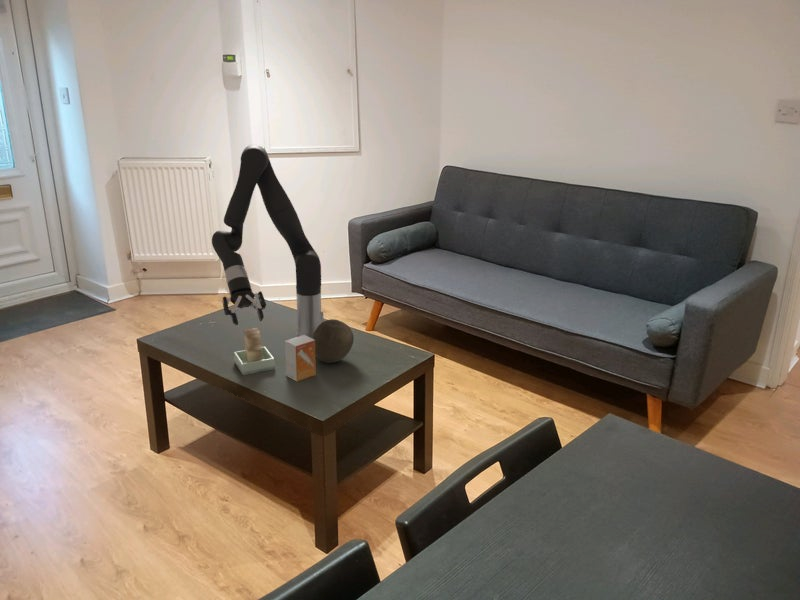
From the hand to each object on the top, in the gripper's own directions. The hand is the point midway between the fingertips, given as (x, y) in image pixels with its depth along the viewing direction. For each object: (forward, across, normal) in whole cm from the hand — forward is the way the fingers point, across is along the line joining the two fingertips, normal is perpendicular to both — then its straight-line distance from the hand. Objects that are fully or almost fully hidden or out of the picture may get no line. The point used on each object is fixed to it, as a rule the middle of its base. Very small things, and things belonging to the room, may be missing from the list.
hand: (249, 322), depth 230 cm
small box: (+24, +12, -2) cm, 26 cm away
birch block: (+12, 0, +7) cm, 14 cm away
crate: (+13, 0, +8) cm, 15 cm away
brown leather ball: (+19, +26, +2) cm, 32 cm away
